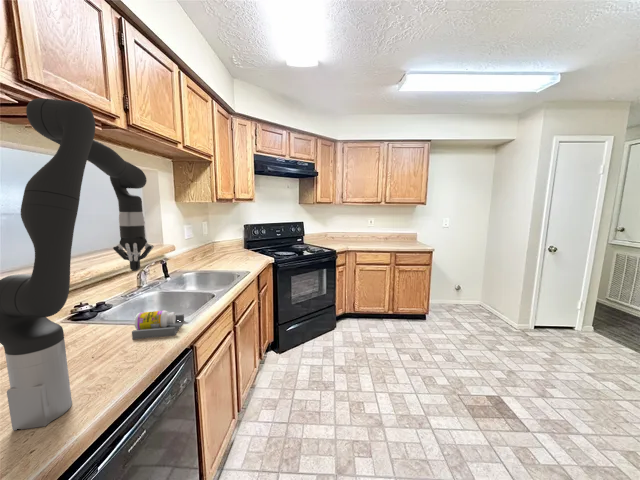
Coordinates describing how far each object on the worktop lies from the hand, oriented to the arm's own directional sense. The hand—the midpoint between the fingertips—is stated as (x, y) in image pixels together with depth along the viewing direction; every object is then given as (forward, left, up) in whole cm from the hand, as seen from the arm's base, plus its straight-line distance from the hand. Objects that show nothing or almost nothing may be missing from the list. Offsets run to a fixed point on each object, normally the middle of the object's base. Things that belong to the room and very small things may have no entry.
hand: (135, 270), depth 100 cm
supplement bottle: (0, +1, -20) cm, 20 cm away
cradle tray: (0, -7, -24) cm, 25 cm away
